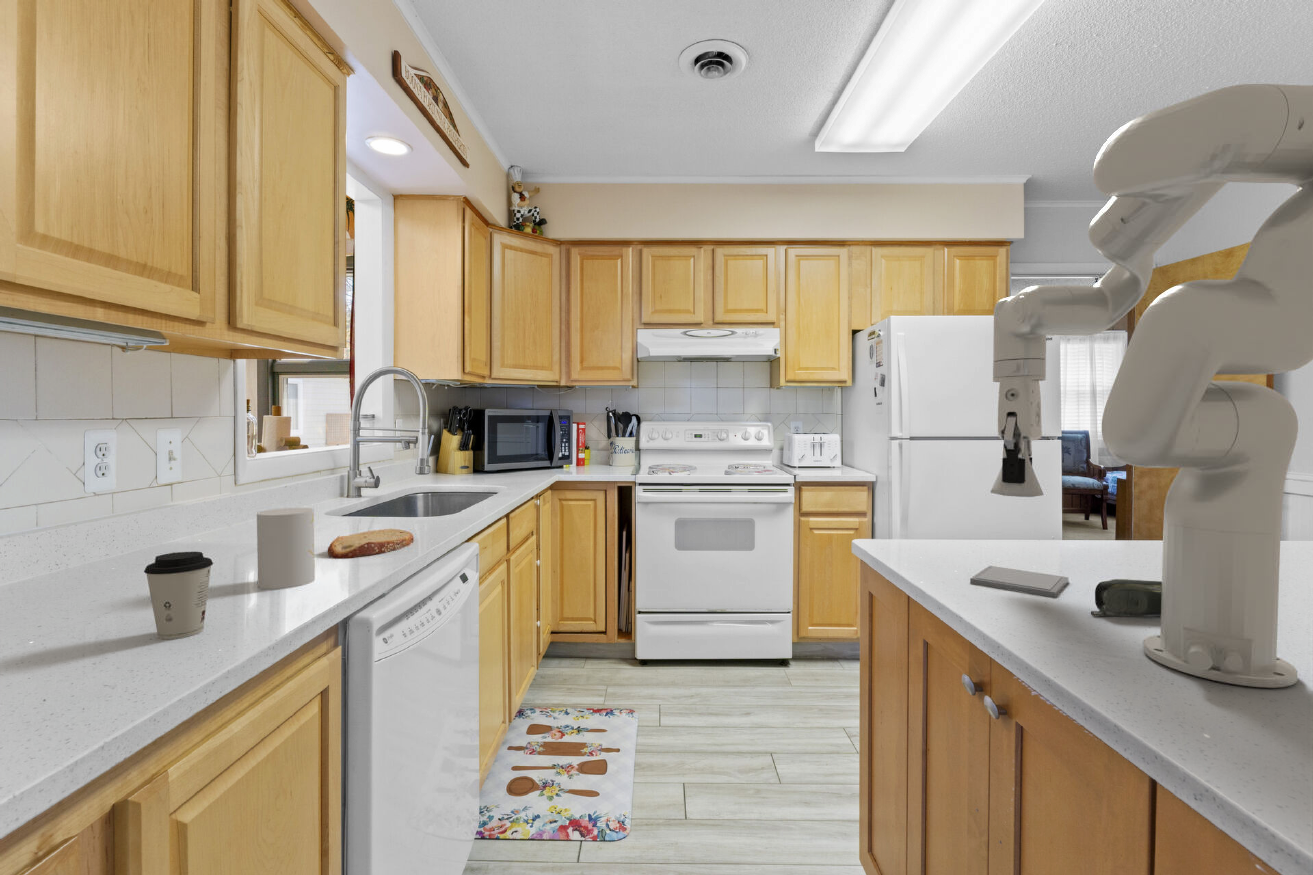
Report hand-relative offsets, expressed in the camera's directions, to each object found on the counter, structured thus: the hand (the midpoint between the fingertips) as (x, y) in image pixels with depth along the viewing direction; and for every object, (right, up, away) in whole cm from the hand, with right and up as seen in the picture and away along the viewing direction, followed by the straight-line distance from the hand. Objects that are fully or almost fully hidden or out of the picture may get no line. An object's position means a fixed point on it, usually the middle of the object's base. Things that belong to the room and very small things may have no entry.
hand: (1017, 480), depth 101 cm
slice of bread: (-121, -17, +29) cm, 126 cm away
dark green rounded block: (+8, -18, -16) cm, 25 cm away
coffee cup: (-121, -18, -23) cm, 125 cm away
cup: (-122, -17, +1) cm, 124 cm away
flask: (0, -3, 0) cm, 3 cm away
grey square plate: (+1, -17, +1) cm, 17 cm away
